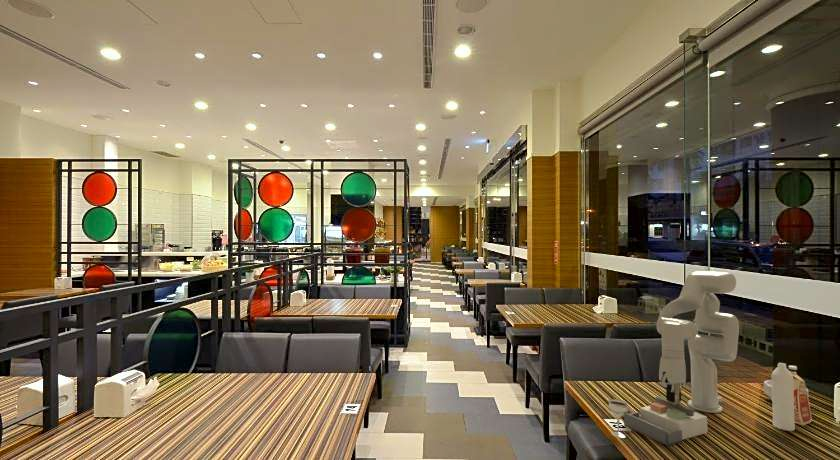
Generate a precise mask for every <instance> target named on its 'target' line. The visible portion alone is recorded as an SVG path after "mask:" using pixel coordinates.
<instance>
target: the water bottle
mask: <svg viewBox="0 0 840 460" xmlns="http://www.w3.org/2000/svg"><path fill="white" fill-rule="evenodd" d="M787 367H788V368H787ZM790 370H791V371H792V370H794V371H797V370H798V367H797V365H788V366H787V363H784V362H778V363H777V367H775V368H774V370H773V371H772V373H771V380H772V398H773V399H772V400H771V401H772V402H771V403H772V405H771V407H772V425H773V427H774V428H777V429H779V430H783V431H786V432H787V431H789V432H793V431H795V429H796V423H794V422H795V419H794V386H793V381H794V380H793V376H792V374H791V373H790V372H789V371H790Z"/></svg>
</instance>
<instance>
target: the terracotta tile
mask: <svg viewBox="0 0 840 460" xmlns="http://www.w3.org/2000/svg"><path fill="white" fill-rule="evenodd" d="M649 406H650V409H652V410H655V411H657V412H660V413H663V412H667V410H668V406H667V405H664V404H662V403H659V402H655V401H654V402H651V403H649Z"/></svg>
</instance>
